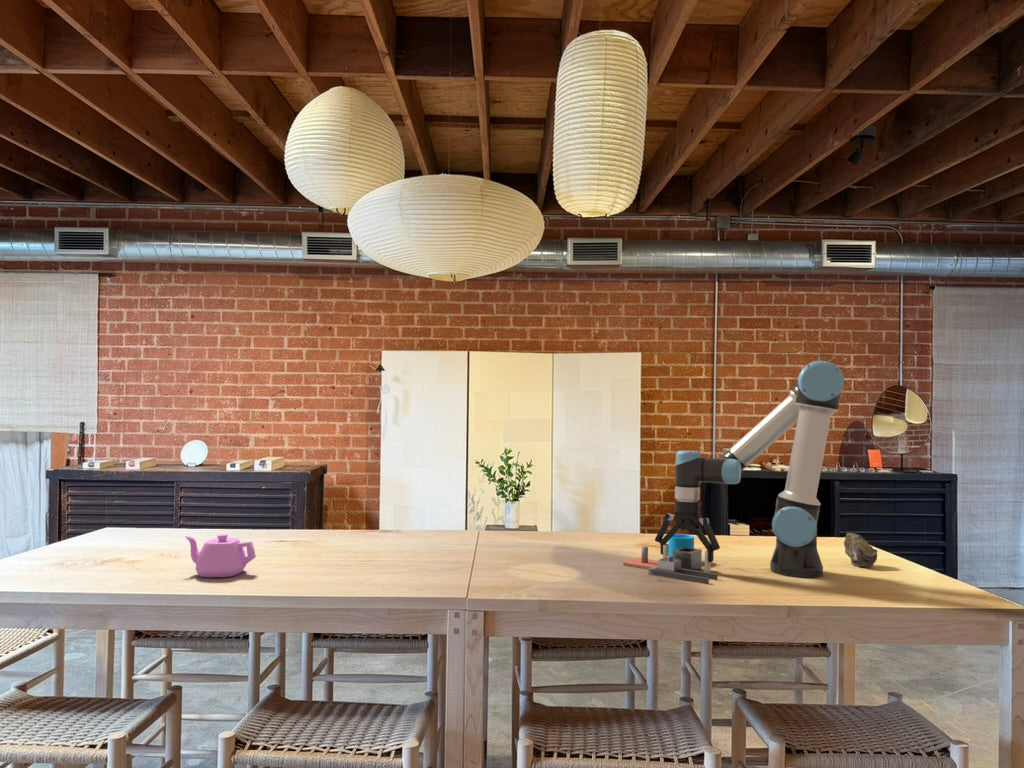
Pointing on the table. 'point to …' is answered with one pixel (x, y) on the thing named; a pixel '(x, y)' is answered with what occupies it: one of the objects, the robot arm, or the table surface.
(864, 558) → the rock
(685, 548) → the grey hollow block
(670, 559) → the grey knobbed block
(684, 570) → the track
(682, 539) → the mug
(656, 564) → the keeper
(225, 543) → the teapot
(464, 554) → the table surface
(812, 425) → the robot arm
